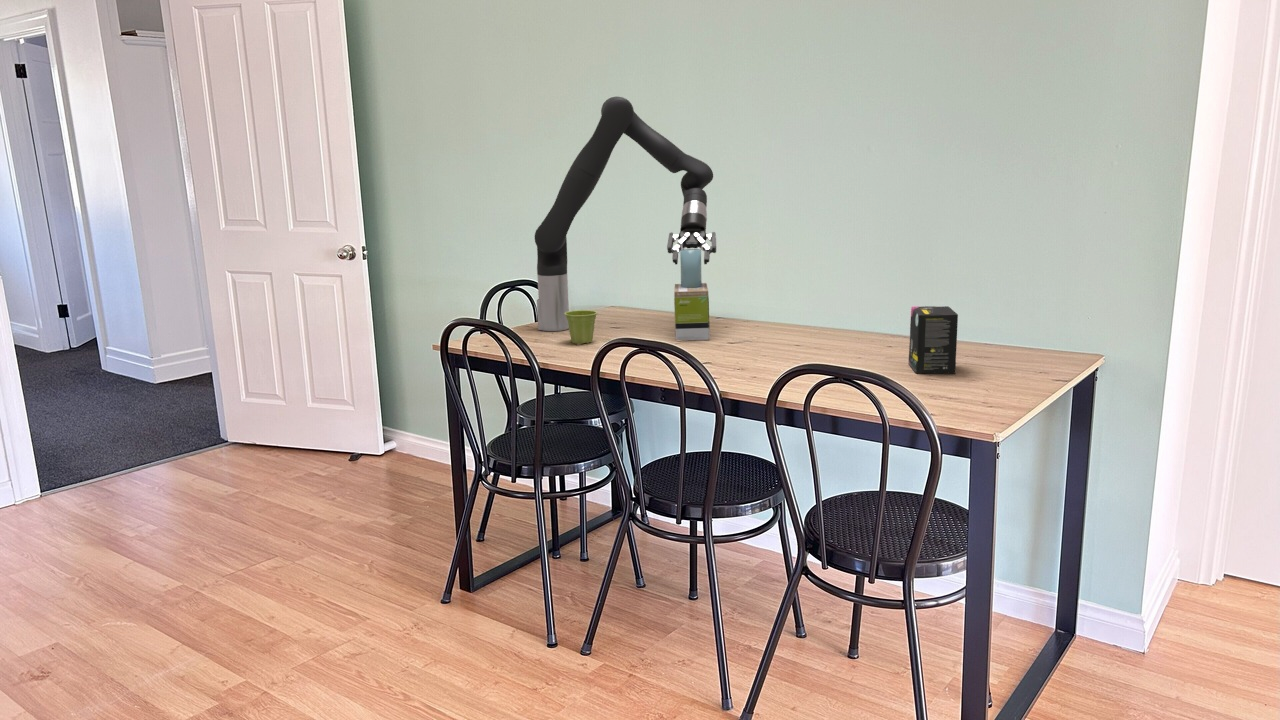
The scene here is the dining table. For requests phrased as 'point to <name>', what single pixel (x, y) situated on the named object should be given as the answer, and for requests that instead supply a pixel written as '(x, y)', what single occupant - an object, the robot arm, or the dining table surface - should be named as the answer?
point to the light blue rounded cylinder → (690, 268)
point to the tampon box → (933, 340)
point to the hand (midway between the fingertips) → (690, 262)
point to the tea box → (691, 312)
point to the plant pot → (581, 325)
